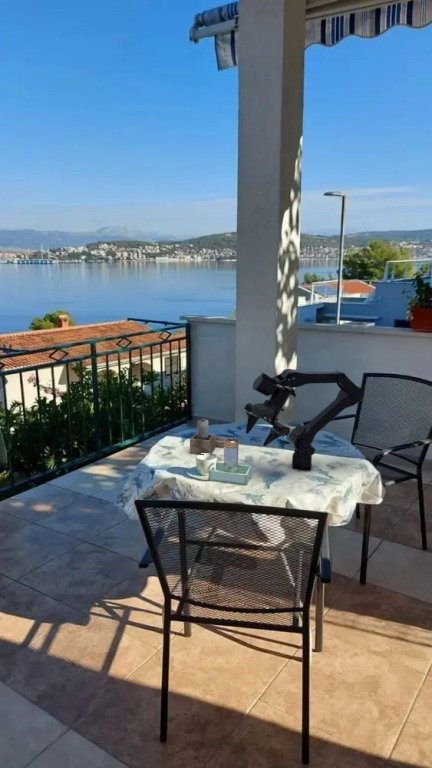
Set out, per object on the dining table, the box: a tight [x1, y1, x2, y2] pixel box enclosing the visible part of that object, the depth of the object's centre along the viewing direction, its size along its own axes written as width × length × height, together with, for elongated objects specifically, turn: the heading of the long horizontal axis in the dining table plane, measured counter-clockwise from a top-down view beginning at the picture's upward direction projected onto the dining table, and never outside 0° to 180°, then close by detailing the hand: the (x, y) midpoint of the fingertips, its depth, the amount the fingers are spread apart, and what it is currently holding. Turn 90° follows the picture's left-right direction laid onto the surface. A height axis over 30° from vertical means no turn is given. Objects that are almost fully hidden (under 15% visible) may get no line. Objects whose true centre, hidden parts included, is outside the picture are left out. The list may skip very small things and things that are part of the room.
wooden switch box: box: [215, 436, 227, 449], centre depth 205 cm, size 8×6×3 cm
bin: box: [189, 418, 216, 455], centre depth 197 cm, size 8×8×13 cm
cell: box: [223, 436, 240, 474], centre depth 171 cm, size 5×5×14 cm
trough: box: [208, 461, 253, 486], centre depth 173 cm, size 13×9×4 cm, turn 74°
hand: (255, 439), depth 178 cm, fingers open, 9 cm apart
